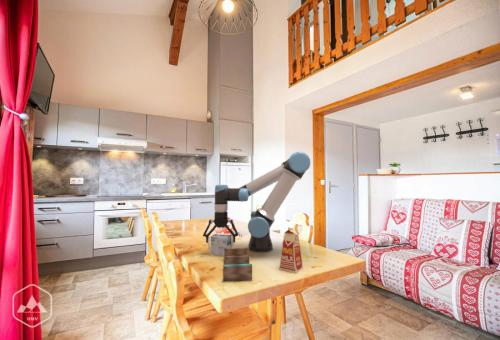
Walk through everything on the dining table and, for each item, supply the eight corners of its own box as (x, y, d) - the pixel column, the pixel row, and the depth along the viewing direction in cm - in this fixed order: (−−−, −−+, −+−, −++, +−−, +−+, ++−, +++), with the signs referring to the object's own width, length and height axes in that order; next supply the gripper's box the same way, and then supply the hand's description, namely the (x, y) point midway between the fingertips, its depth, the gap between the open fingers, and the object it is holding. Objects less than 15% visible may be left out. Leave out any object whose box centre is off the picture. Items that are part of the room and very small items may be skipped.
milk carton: (296, 273, 112) (296, 228, 113) (278, 269, 117) (277, 227, 118) (303, 267, 120) (303, 225, 121) (286, 264, 125) (285, 224, 125)
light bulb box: (232, 253, 144) (232, 234, 144) (227, 256, 137) (227, 237, 138) (215, 251, 147) (215, 233, 147) (210, 255, 141) (210, 235, 141)
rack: (246, 259, 133) (246, 246, 133) (252, 280, 104) (252, 264, 105) (224, 260, 132) (224, 247, 132) (223, 281, 103) (223, 265, 103)
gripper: (242, 210, 148) (241, 246, 147) (199, 210, 146) (199, 247, 145) (242, 212, 141) (242, 249, 140) (198, 212, 138) (197, 250, 137)
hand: (220, 248), depth 142 cm, fingers open, 13 cm apart
